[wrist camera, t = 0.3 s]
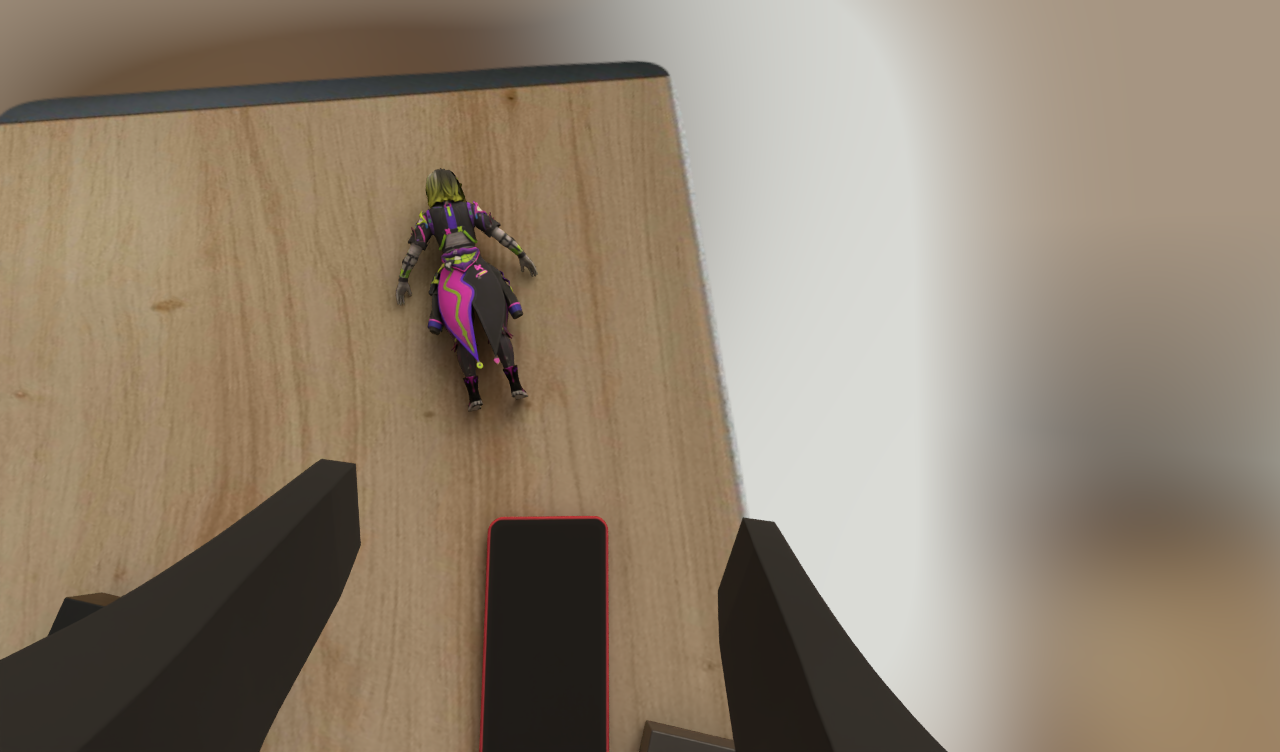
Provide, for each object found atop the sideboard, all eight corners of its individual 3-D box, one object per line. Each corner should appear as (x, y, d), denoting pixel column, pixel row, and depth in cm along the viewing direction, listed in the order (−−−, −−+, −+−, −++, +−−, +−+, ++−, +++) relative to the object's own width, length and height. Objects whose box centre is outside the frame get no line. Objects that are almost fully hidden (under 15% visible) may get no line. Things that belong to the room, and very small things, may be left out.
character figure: (568, 388, 44) (509, 171, 46) (571, 377, 41) (507, 143, 43) (426, 424, 42) (372, 196, 44) (417, 416, 39) (358, 168, 41)
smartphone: (608, 515, 41) (609, 782, 38) (606, 516, 42) (607, 777, 39) (488, 517, 40) (477, 792, 37) (489, 517, 41) (479, 786, 38)
